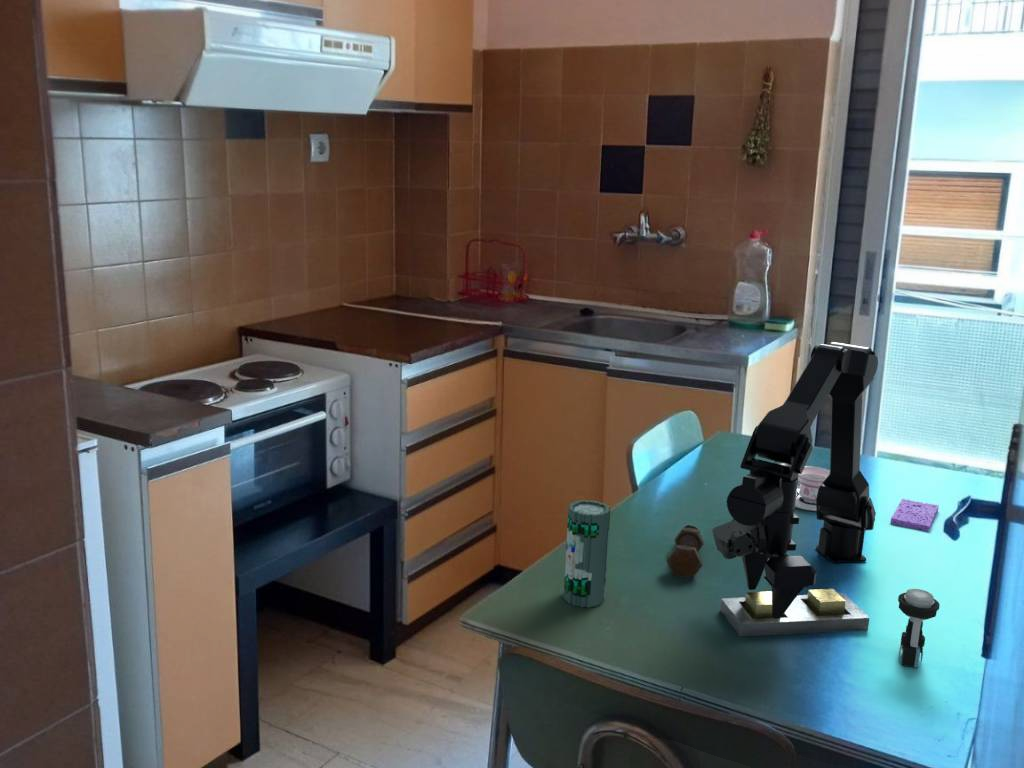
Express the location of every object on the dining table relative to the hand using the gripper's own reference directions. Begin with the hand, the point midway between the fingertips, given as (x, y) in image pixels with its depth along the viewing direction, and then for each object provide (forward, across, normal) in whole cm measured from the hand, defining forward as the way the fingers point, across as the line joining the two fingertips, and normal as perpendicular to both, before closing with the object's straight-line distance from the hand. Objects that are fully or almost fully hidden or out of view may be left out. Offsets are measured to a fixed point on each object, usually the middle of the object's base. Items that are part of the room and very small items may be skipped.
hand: (763, 603), depth 147 cm
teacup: (+4, -48, +31) cm, 57 cm away
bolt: (+4, -23, -4) cm, 23 cm away
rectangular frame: (+3, 0, +5) cm, 6 cm away
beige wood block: (+3, 0, 0) cm, 3 cm away
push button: (+3, +12, +17) cm, 21 cm away
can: (+3, -10, -25) cm, 27 cm away
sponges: (+4, -38, +48) cm, 61 cm away
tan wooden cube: (+3, 0, +10) cm, 10 cm away
